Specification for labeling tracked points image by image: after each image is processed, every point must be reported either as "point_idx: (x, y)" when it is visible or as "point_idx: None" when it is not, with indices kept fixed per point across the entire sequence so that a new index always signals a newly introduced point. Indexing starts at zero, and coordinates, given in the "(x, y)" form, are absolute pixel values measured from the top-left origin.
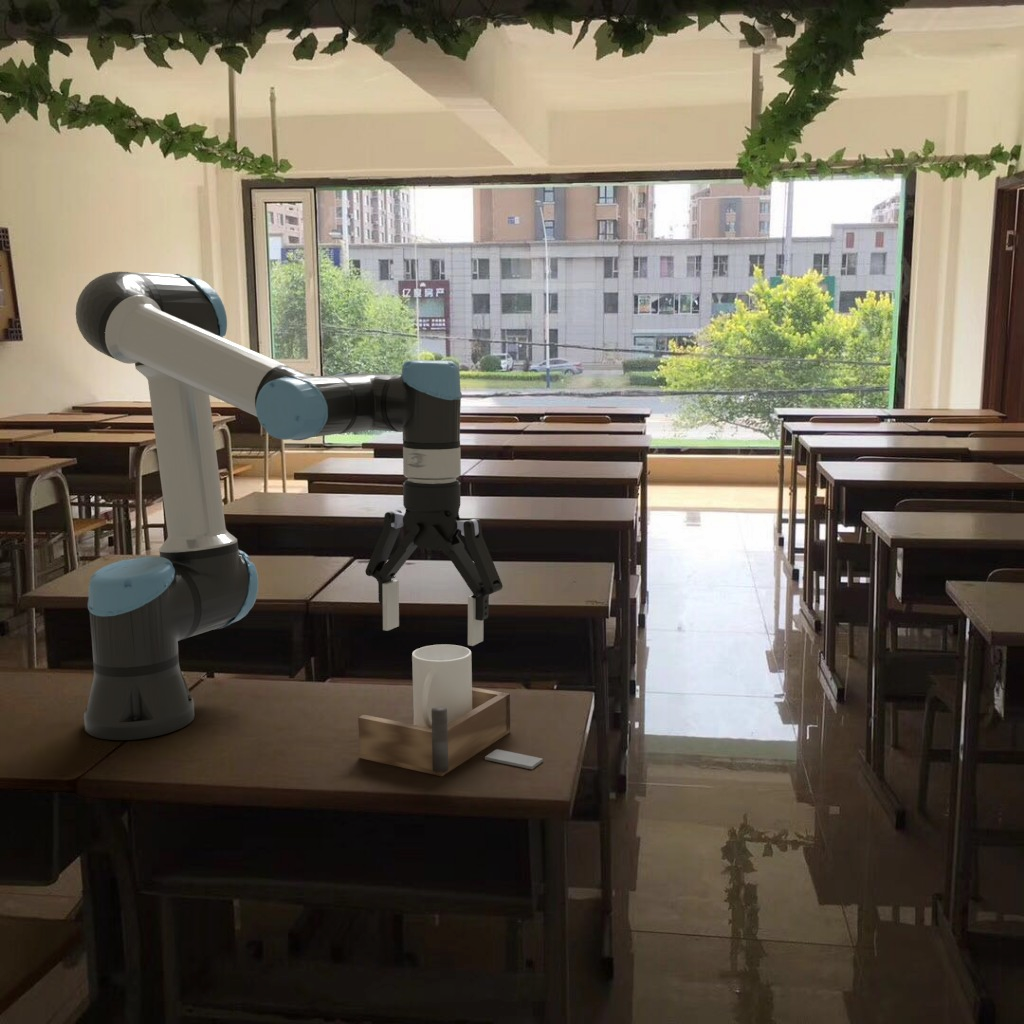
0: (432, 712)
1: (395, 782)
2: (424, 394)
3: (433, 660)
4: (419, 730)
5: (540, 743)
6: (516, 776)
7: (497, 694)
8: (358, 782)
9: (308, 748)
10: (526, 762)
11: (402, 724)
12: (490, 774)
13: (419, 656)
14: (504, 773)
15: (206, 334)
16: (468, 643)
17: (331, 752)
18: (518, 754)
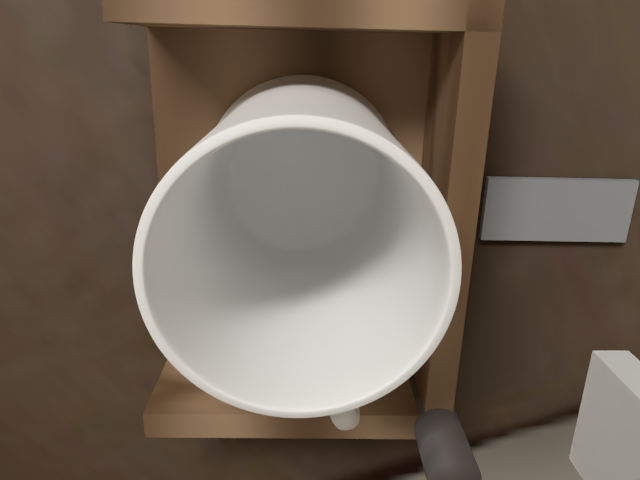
0: None
1: None
2: None
3: (337, 410)
4: (373, 437)
5: (587, 51)
6: (594, 291)
7: (459, 26)
8: (267, 463)
9: (16, 371)
10: (603, 224)
11: (302, 426)
12: (528, 308)
13: (160, 268)
14: (559, 288)
15: None
16: (579, 467)
17: (87, 366)
18: (563, 185)
